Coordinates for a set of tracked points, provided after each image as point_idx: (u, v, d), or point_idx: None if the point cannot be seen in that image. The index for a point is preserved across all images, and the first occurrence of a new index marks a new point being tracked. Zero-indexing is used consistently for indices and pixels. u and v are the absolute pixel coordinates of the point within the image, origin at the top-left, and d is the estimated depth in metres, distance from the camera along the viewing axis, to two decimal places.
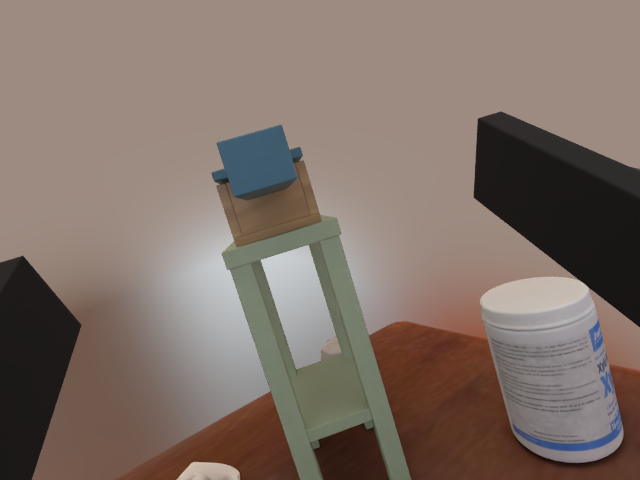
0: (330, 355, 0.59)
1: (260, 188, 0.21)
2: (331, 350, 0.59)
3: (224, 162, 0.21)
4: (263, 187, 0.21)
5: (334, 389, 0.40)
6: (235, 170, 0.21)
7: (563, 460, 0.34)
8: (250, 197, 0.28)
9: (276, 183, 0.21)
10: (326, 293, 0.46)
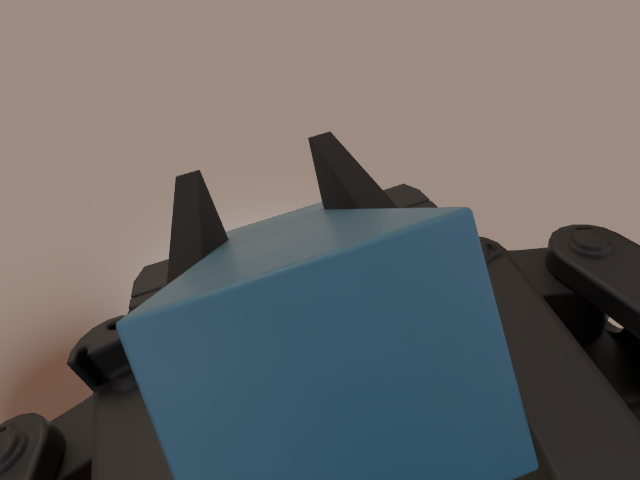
0: None
1: None
2: None
3: (162, 428, 0.04)
4: None
5: None
6: (225, 464, 0.04)
7: None
8: None
9: None
10: None
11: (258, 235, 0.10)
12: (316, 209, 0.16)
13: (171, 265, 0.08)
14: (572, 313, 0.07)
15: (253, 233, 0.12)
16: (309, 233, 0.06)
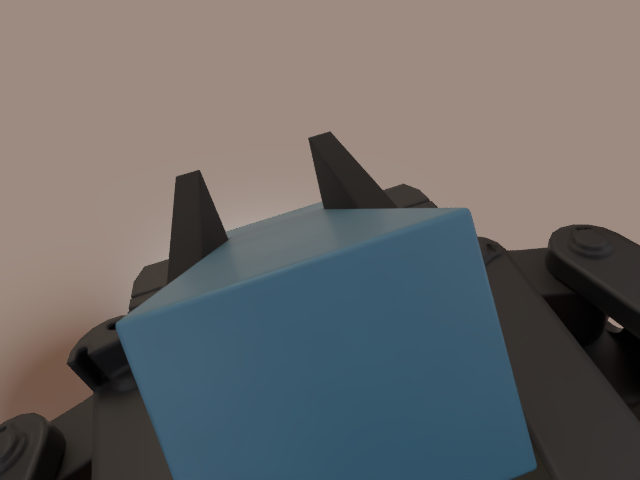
0: None
1: None
2: None
3: (162, 428, 0.04)
4: None
5: None
6: (224, 463, 0.04)
7: None
8: None
9: None
10: None
11: (258, 235, 0.10)
12: (316, 209, 0.16)
13: (171, 265, 0.08)
14: (572, 313, 0.07)
15: (253, 233, 0.12)
16: (309, 233, 0.06)
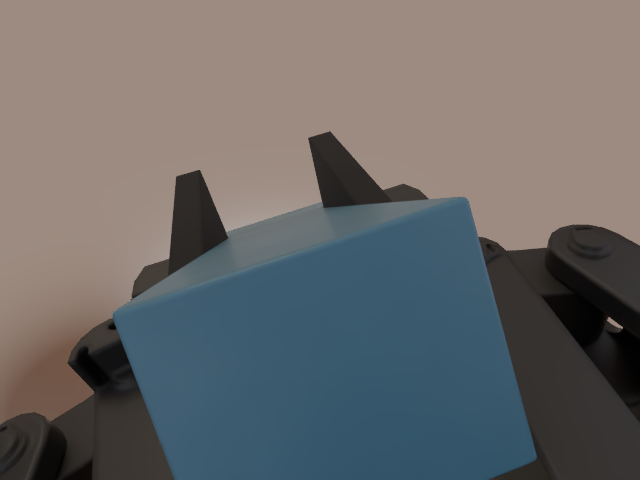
0: None
1: None
2: None
3: (159, 418, 0.04)
4: None
5: None
6: (221, 454, 0.04)
7: None
8: None
9: None
10: None
11: (257, 232, 0.10)
12: (316, 208, 0.16)
13: (172, 265, 0.08)
14: (572, 313, 0.07)
15: (253, 231, 0.12)
16: (307, 228, 0.06)
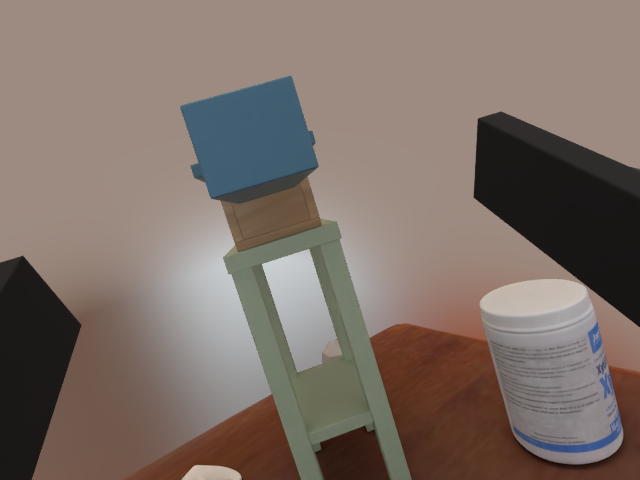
0: (331, 357, 0.59)
1: (255, 184, 0.12)
2: (332, 353, 0.59)
3: (193, 139, 0.12)
4: (261, 182, 0.12)
5: (335, 392, 0.40)
6: (212, 152, 0.12)
7: (563, 462, 0.34)
8: (243, 199, 0.19)
9: (283, 175, 0.12)
10: (327, 296, 0.46)
11: None
12: None
13: None
14: None
15: None
16: None
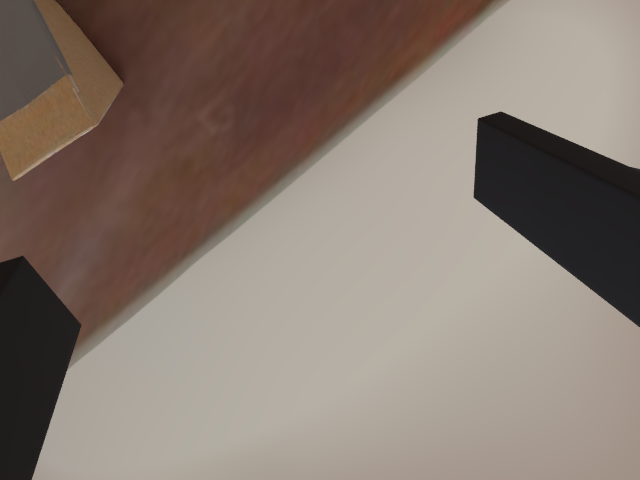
0: None
1: None
2: None
3: None
4: None
5: None
6: None
7: None
8: None
9: None
10: None
11: None
12: None
13: None
14: None
15: None
16: None
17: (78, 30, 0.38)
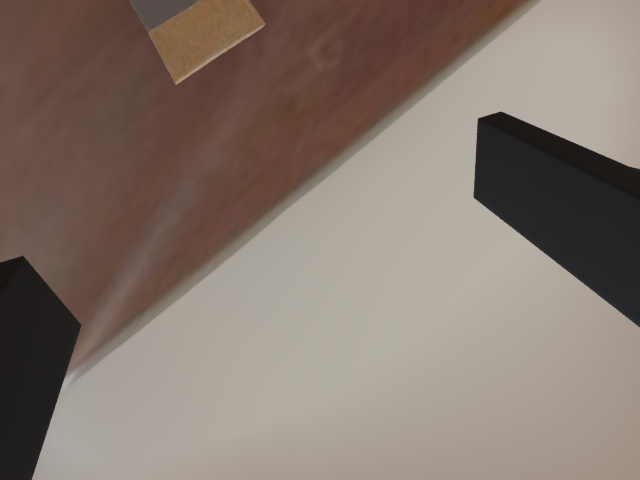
0: None
1: None
2: None
3: None
4: None
5: None
6: None
7: None
8: None
9: None
10: None
11: None
12: None
13: None
14: None
15: None
16: None
17: None
